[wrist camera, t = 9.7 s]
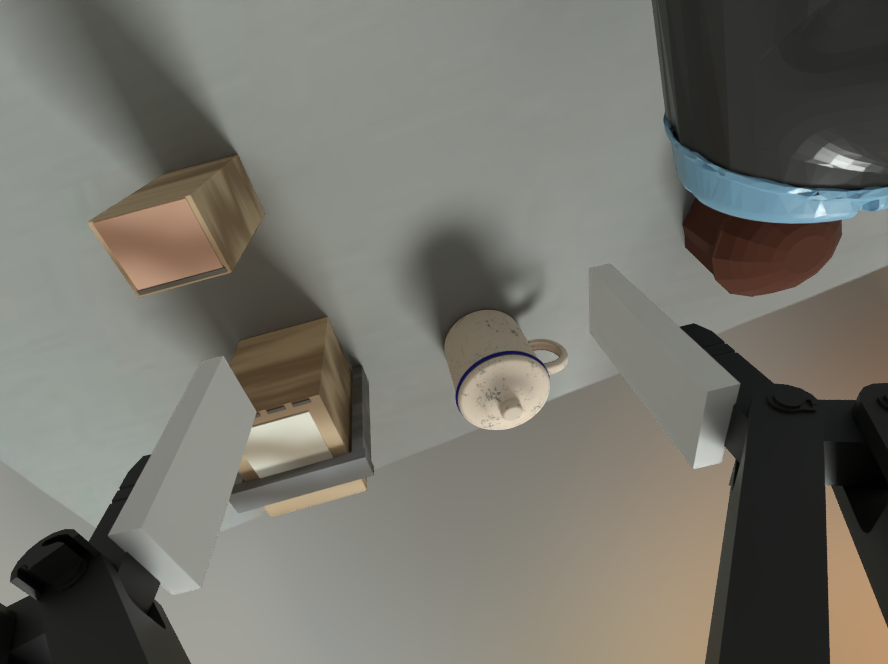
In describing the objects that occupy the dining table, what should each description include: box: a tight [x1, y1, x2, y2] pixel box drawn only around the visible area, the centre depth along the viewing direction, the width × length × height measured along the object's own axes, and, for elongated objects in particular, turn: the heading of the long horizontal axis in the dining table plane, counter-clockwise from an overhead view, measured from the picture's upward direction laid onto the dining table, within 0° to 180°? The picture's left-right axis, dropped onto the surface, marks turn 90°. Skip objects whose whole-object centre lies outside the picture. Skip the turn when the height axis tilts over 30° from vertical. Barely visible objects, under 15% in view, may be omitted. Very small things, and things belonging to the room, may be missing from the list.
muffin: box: [682, 198, 842, 297], centre depth 41 cm, size 12×11×10 cm
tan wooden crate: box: [229, 317, 374, 517], centre depth 42 cm, size 12×12×13 cm
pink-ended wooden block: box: [87, 154, 265, 297], centre depth 32 cm, size 5×6×12 cm
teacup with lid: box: [444, 310, 568, 430], centre depth 44 cm, size 12×9×12 cm
